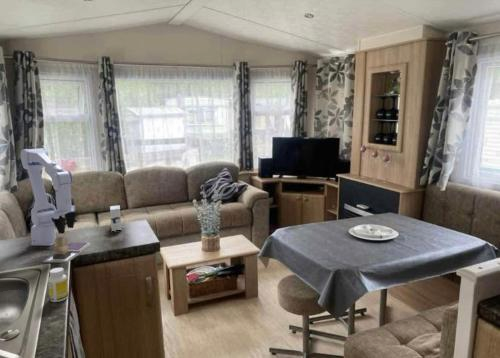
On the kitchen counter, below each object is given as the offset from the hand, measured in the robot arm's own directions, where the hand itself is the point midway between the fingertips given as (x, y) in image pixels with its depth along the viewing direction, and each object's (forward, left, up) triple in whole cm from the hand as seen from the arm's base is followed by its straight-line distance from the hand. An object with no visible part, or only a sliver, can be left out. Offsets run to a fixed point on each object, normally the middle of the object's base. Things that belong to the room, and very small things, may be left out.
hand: (66, 230), depth 159 cm
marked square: (+1, -6, -10) cm, 12 cm away
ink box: (+9, +33, -10) cm, 36 cm away
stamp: (+1, -6, -10) cm, 11 cm away
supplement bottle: (+18, -41, -10) cm, 45 cm away
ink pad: (+1, +4, -10) cm, 11 cm away
